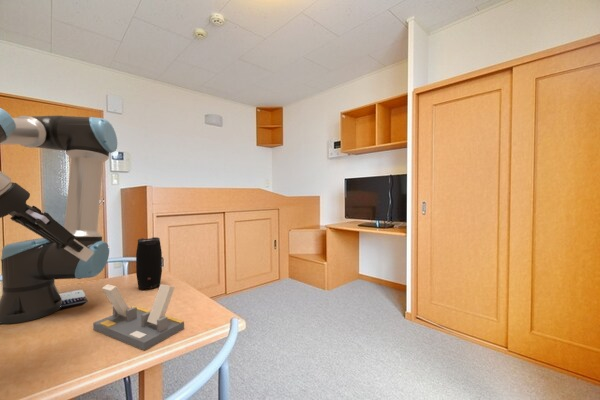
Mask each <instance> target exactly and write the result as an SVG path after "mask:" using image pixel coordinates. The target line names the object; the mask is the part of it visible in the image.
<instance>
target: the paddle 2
mask: <svg viewBox="0 0 600 400" xmlns="http://www.w3.org/2000/svg"><path fill="white" fill-rule="evenodd" d="M174 290H175V286H172V285H167V284H162V283H160V286H159V287H158V291H157V293H156V296H155V299H154V301H153V304H152V307H151V312H150V315H149V317H148V320H147V323H149V324H152V325H155V326H157V320H158V319H160V318H162V317H164V316H165V315H167V311H168V309H169V308H168V307H169V304H170V302H171V298H172V295H173V293H174Z"/></svg>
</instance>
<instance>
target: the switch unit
mask: <svg viewBox="0 0 600 400" xmlns="http://www.w3.org/2000/svg"><path fill="white" fill-rule="evenodd" d="M150 312H151V310H150V309H147V308H144V307H140V306H137V305H133V306H131V307H129V309H128V310H126V317H125V316H123V315H120V314H118V313H117V311H116V310H115V308H114V307H113V306H112V315H109V316H107V317H105V318H101V319H99V320H96V321H94V322H93V324H92V325H93V326H92V328H93V330H94V331H95V332H99V333H100V334H103V335H105V336H108V337H110V338H112V339H114V340H117V341H120V342H123V343H125V344H127V345H130V346H133V347H134V348H137V349H140V350H143V351H146V350H149V349H150V348H151V347H154V346H155V345H157V344H159V343H161V342H162V341H165V340H166V339H168V338H169V337H171V336H173V335H176V333H178V332H180V331H183V330H184V329H185V321H184V320H182V319H179V318H177V317H174V316H169V315H167V314H165V316H164V317H162V318H160V319H158V320H157V326H155V325H152V324H149V323H147V320H148V317H149V315H150Z"/></svg>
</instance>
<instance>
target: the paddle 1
mask: <svg viewBox="0 0 600 400" xmlns="http://www.w3.org/2000/svg"><path fill="white" fill-rule="evenodd" d="M101 289H102V291H103V292H104V294H105V295H106V297H107V299H108V300H109V302H110V304H111V305H112V308H113V307H114V308H115V310H116V311H117V313H118V314H120V315H123V316H125V317H126V310H128V309H130V307H129V305H128V304H127V302H126V301H125V300H124V298H123V296H122V294H121V293H120V290H119V289H118V287H117V286H116V285H112V284H108V283H107V284H105V285H104V286H103V287H102V288H101Z"/></svg>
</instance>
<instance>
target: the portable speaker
mask: <svg viewBox="0 0 600 400" xmlns="http://www.w3.org/2000/svg"><path fill="white" fill-rule="evenodd" d="M162 254H163V251H162V245H161V240H160V237H157V236H156V237H151V238H142V237H141V238H138V239H137V246H136V253H135V265H136V266H135V272H136V273H135V275H136V281H137V286H138V290H140V291H145V289H150V288H152V289H157V288H158V289H159V287H160V284H161V283H162V282H161V280H162V274H163V264H162V263H163V261H162V259H163V257H162Z"/></svg>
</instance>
